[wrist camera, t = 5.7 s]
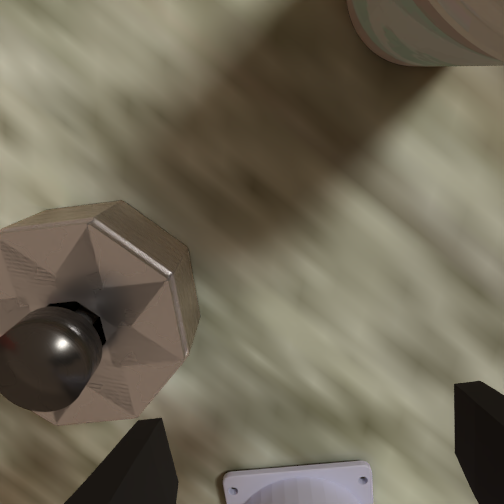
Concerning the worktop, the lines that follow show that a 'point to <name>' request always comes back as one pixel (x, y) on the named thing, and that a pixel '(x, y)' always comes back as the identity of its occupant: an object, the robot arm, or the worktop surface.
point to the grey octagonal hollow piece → (105, 298)
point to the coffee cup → (432, 31)
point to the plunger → (49, 358)
